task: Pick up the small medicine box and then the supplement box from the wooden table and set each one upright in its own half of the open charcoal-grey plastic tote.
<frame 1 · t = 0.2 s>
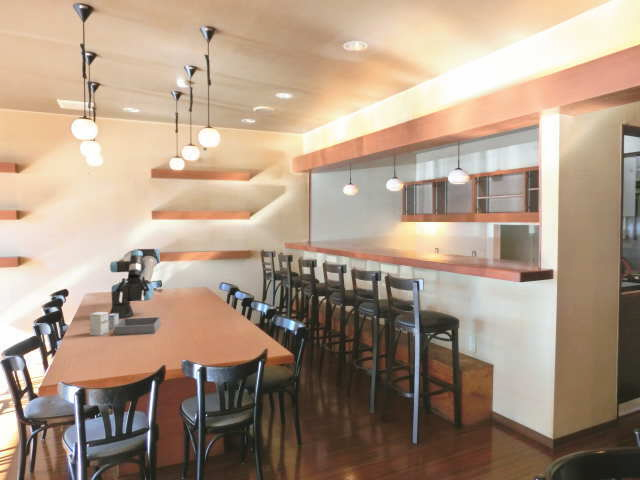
hand: (131, 301, 283), 15 cm above the table, tool tilted 35°, fingers open, 13 cm apart
tote: (138, 329, 271), on the table
supplement box: (99, 334, 263), on the table
medicine box: (113, 328, 277), on the table
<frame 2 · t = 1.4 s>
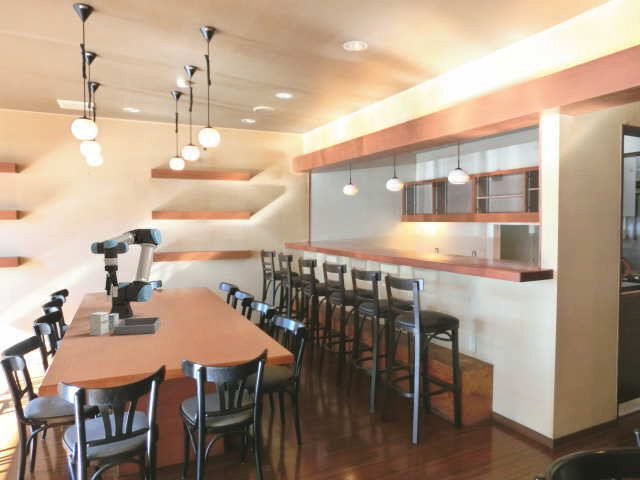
hand: (112, 298, 276), 18 cm above the table, tool pointing down, fingers open, 13 cm apart
nothing on the table moved.
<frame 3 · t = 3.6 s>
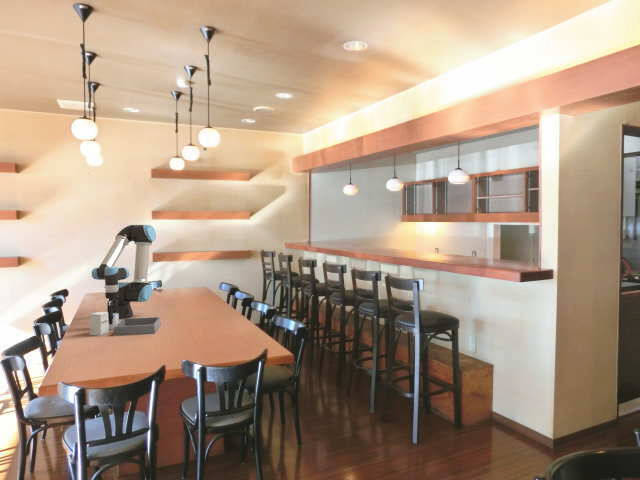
hand: (113, 327, 277), 0 cm above the table, tool pointing down, fingers closed on medicine box, 8 cm apart
medicine box: (113, 328, 277), on the table, touching gripper
everything else where it was.
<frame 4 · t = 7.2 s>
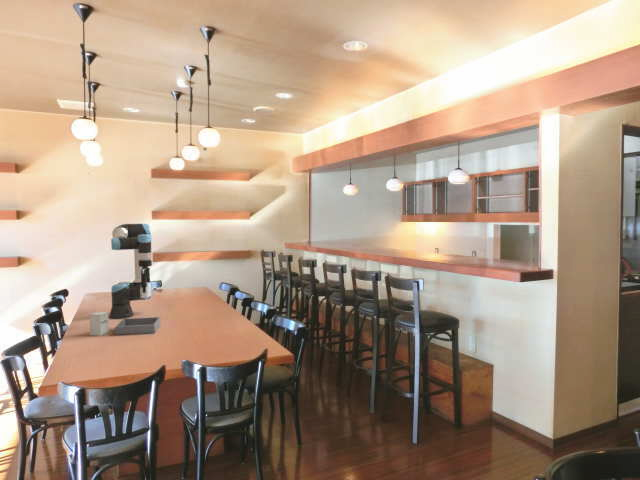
hand: (146, 296, 271), 20 cm above the table, tool pointing down, fingers closed on medicine box, 8 cm apart
medicine box: (146, 297, 271), point 20 cm above the table, touching gripper
everything else where it was.
when the fingers open (3 cm above the table, at t = 11.0 s): medicine box drops 1 cm, resting on tote.
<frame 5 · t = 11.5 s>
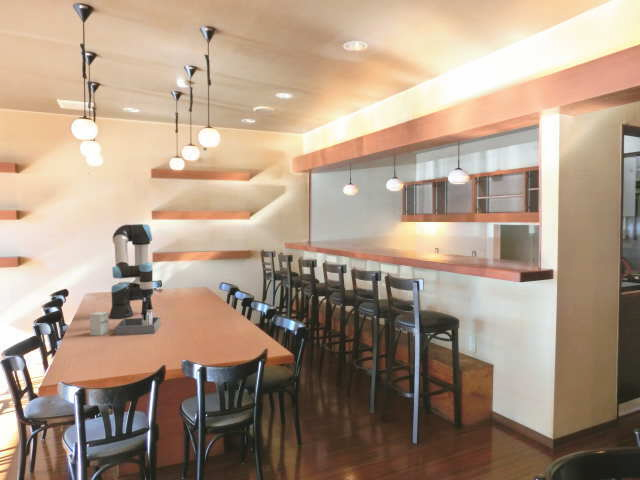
hand: (147, 322, 272), 4 cm above the table, tool pointing down, fingers open, 13 cm apart
medicine box: (147, 328, 272), point 1 cm above the table, touching tote
everything else where it was.
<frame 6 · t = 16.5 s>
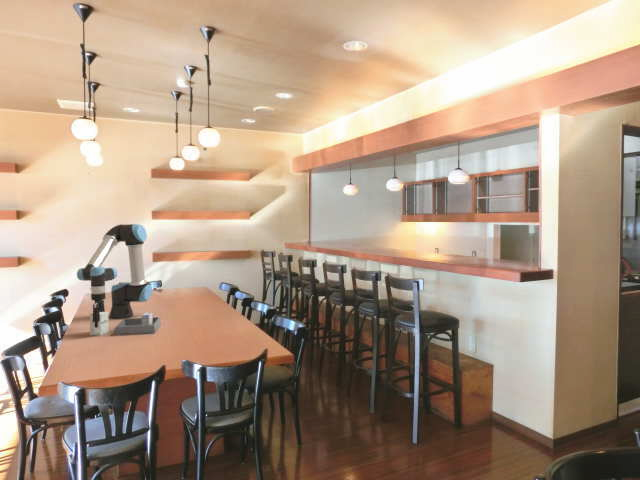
hand: (99, 330, 262), 2 cm above the table, tool pointing down, fingers closed on supplement box, 9 cm apart
supplement box: (99, 334, 263), on the table, touching gripper
everything else where it was.
when the fingers open (4 cm above the table, at t = 23.6 s): supplement box drops 1 cm, resting on tote.
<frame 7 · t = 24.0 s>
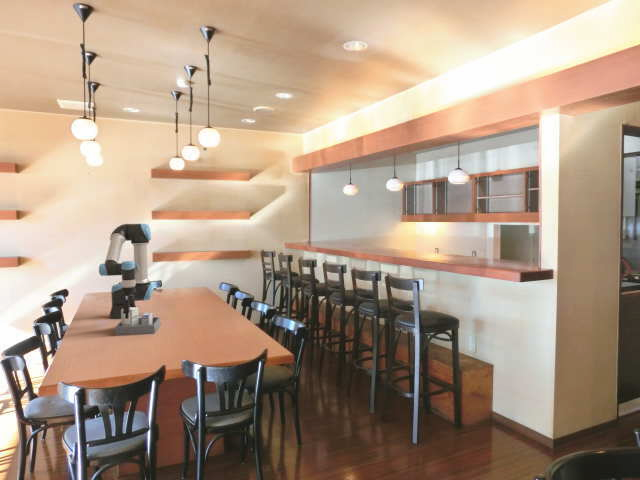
hand: (129, 321, 270), 6 cm above the table, tool pointing down, fingers open, 13 cm apart
supplement box: (130, 329, 271), point 1 cm above the table, touching tote
everything else where it was.
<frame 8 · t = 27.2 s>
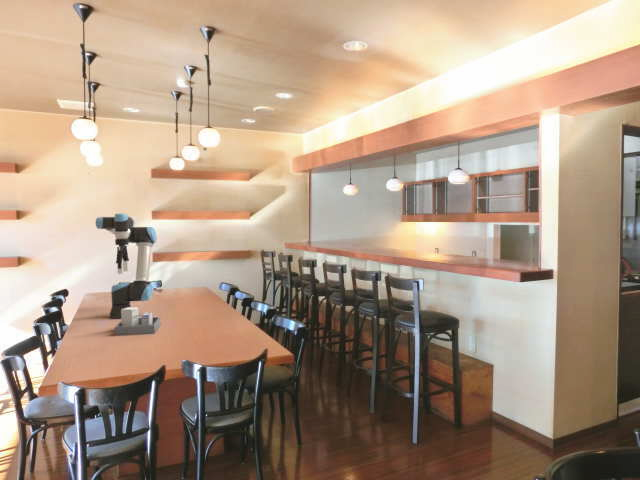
hand: (122, 272, 276), 35 cm above the table, tool pointing down, fingers open, 13 cm apart
nothing on the table moved.
at the end: medicine box inside the target area on the tote (4.9 cm from its centre), point 0.8 cm above the tote's base; supplement box inside the target area on the tote (5.0 cm from its centre), point 0.8 cm above the tote's base; supplement box tilted 0° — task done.
